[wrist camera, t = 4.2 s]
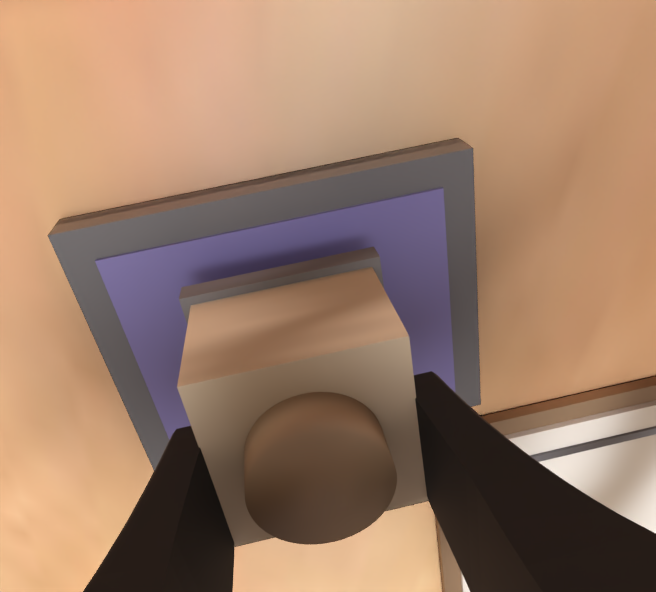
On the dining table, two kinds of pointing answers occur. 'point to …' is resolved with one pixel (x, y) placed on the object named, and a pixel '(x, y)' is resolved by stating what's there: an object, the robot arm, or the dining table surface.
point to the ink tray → (279, 264)
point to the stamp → (302, 398)
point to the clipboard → (585, 452)
